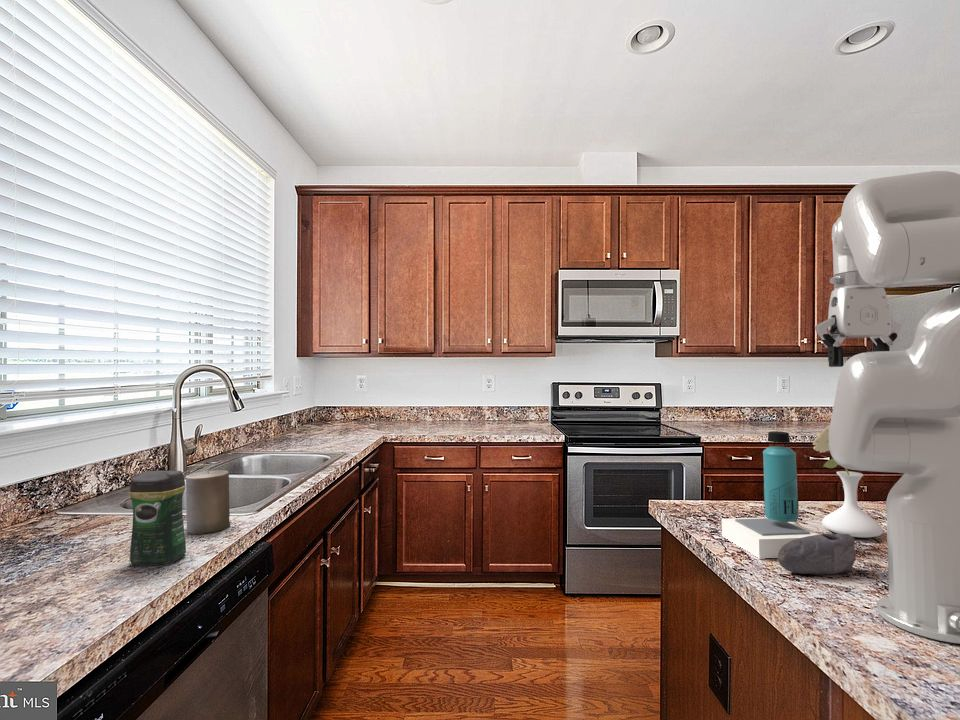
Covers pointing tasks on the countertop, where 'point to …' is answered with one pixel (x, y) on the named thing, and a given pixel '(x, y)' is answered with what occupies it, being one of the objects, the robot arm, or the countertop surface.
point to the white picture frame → (762, 534)
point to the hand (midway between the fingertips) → (859, 366)
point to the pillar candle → (207, 501)
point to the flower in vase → (847, 501)
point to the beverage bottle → (780, 480)
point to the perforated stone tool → (819, 554)
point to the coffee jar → (157, 517)
